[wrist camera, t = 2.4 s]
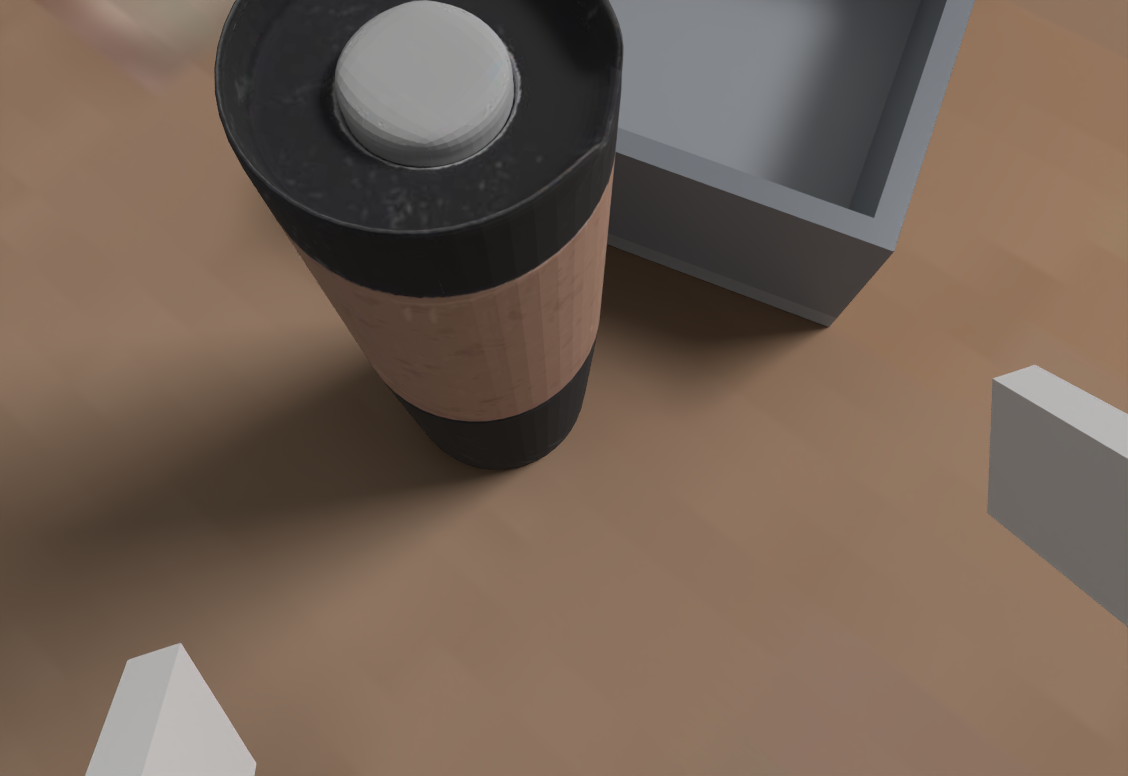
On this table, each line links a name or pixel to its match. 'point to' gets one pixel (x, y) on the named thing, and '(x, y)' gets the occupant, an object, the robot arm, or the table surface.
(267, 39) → the travel mug
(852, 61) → the bin
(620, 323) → the table surface
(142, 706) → the robot arm
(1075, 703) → the table surface
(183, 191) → the table surface
